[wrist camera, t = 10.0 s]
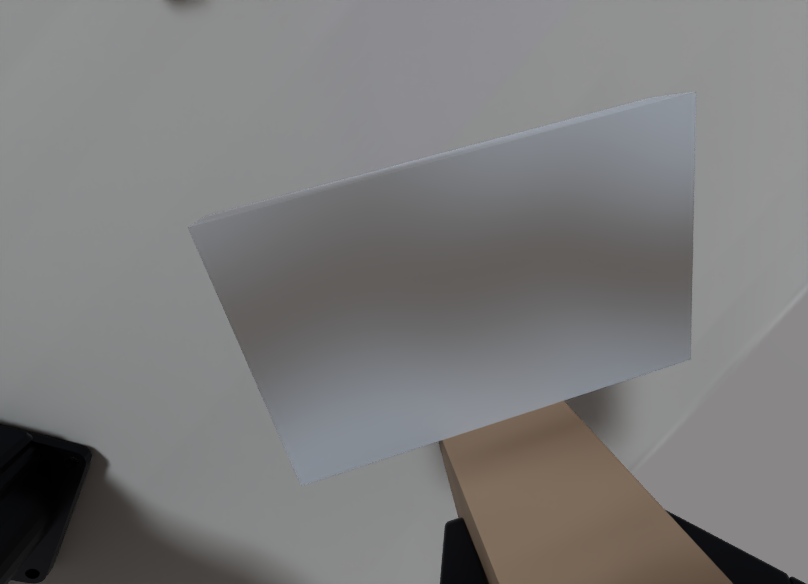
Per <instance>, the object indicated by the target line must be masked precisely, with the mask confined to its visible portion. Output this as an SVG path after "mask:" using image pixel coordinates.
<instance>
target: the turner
mask: <svg viewBox="0 0 808 584" xmlns="http://www.w3.org/2000/svg"><path fill="white" fill-rule="evenodd" d="M695 124H696V92H689V93H681V94H674V95H666V96H659V97H651V98H647V99H643V100H640V101H636V102H632V103H628V104H625V105H621V106H617V107H613V108H610V109H606V110H602V111H598V112H594V113H591V114H587V115H583V116H579V117H576V118H572V119H568V120H564V121H561V122H557V123H553V124H549V125H546V126H542V127H538V128H534V129H531V130H527V131H523V132H519V133H516V134H512V135H508V136H504V137H501V138H497V139H493V140H489V141H485V142H482V143H478V144H474V145H470V146H467V147H463V148H459V149H455V150H452V151H448V152H444V153H440V154H437V155H433V156H429V157H425V158H422V159H418V160H414V161H410V162H407V163H403V164H399V165H395V166H392V167H388V168H384V169H380V170H377V171H373V172H369V173H365V174H361V175H358V176H354V177H350V178H346V179H343V180H339V181H335V182H331V183H328V184H324V185H320V186H316V187H313V188H309V189H305V190H301V191H298V192H294V193H290V194H286V195H283V196H279V197H275V198H271V199H268V200H264V201H260V202H256V203H252V204H249V205H245V206H241V207H237V208H234V209H230V210H226V211H222V212H219V213H215V214H211V215H207V216H205V217H204V218H202V219H200V220H199V221H197V222H196V223H194V224H192V225H191V226H189V227H188V229H189V231H190V233H191V236H192V238H193V240H194V242H195V245H196V247H197V249H198V252H199V254H200V256H201V258H202V261H203V263H204V265H205V268H206V270H207V272H208V274H209V277H210V279H211V281H212V283H213V286H214V288H215V290H216V293H217V295H218V297H219V299H220V302H221V304H222V306H223V309H224V311H225V313H226V315H227V318H228V320H229V322H230V325H231V327H232V329H233V331H234V334H235V336H236V338H237V340H238V343H239V345H240V347H241V350H242V352H243V354H244V356H245V359H246V361H247V363H248V366H249V368H250V370H251V372H252V375H253V377H254V379H255V381H256V384H257V386H258V388H259V391H260V393H261V395H262V397H263V400H264V402H265V404H266V407H267V409H268V411H269V413H270V416H271V418H272V420H273V422H274V425H275V427H276V429H277V432H278V434H279V436H280V438H281V441H282V443H283V445H284V448H285V450H286V452H287V454H288V457H289V459H290V461H291V463H292V466H293V468H294V470H295V473H296V475H297V477H298V479H299V482H300V484H301V486H303V485H306V484H309V483H312V482H315V481H318V480H321V479H324V478H327V477H330V476H333V475H336V474H340V473H343V472H346V471H349V470H352V469H355V468H358V467H361V466H364V465H367V464H370V463H373V462H376V461H380V460H383V459H386V458H389V457H392V456H395V455H398V454H401V453H404V452H407V451H410V450H413V449H416V448H420V447H423V446H426V445H429V444H432V443H435V442H438V441H439V445H440V449H441V453H442V457H443V460H444V464H445V468H446V472H447V476H448V480H449V483H450V487H451V491H452V495H453V499H454V502H455V506H456V510H457V514H458V518H460V517H462V518H464V521H465V523H466V526H467V528H468V531H469V533H470V536H471V538H472V541H473V543H474V546H475V548H476V551H477V553H478V556H479V558H480V561H481V563H482V566H483V568H484V571H485V573H486V576H487V579H488V583H489V584H733V583H732V582H731V581H730V580H729V579H728V578H727V577H726V575H725V574H724V573H723V572H722V571H721V570H720V569H719V568H718V567H717V566H716V565H715V564H714V562H713V561H712V560H711V559H710V558H709V557H708V556H707V555H706V554H705V553H704V552H703V551H702V550H701V548H700V547H699V546H698V545H697V544H696V543H695V542H694V541H693V540H692V539H691V538H690V537H689V535H688V534H687V533H686V532H685V531H684V530H683V529H682V528H681V527H680V526H679V525H678V524H677V522H676V521H675V520H674V519H673V518H672V517H671V516H670V515H669V514H668V513H667V512H666V511H665V510H664V509H663V508H662V506H661V505H660V504H659V503H658V502H657V501H656V500H655V499H654V498H653V497H652V496H651V494H650V493H649V492H648V491H647V490H646V489H645V488H644V487H643V486H642V485H641V484H640V483H639V481H638V480H637V479H636V478H635V477H634V476H633V475H632V474H631V473H630V472H629V471H628V470H627V468H626V467H625V466H624V465H623V464H622V463H621V462H620V461H619V460H618V459H617V458H616V457H615V455H614V454H613V453H612V452H611V451H610V450H609V449H608V448H607V447H606V446H605V445H604V444H603V442H602V441H601V440H600V439H599V438H598V437H597V436H596V435H595V434H594V433H593V432H592V431H591V430H590V428H589V427H588V426H587V425H586V424H585V423H584V422H583V421H582V420H581V419H580V418H579V417H578V415H577V414H576V413H575V412H574V411H573V410H572V409H571V408H570V407H569V406H568V405H567V404H566V402H565V401H564V400H567V399H570V398H573V397H576V396H580V395H583V394H586V393H589V392H592V391H595V390H598V389H601V388H604V387H607V386H610V385H613V384H616V383H620V382H623V381H626V380H629V379H632V378H635V377H638V376H641V375H644V374H647V373H650V372H653V371H656V370H660V369H663V368H666V367H669V366H672V365H675V364H678V363H681V362H684V361H687V360H690V359H691V315H692V267H693V220H694V172H695Z"/></svg>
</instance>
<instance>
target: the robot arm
mask: <svg viewBox="0 0 808 584" xmlns="http://www.w3.org/2000/svg"><path fill="white" fill-rule="evenodd" d="M70 457H74V458H76V459H77V460H78V461H79V462H78V461H74V460H72V459H71V458H70ZM91 459H92V455H91V452H90V451H89V450H88V449H87V448H86V447H84V446H82V445H78V444H74V443H70V442H66V441H63V440H59V439H55V438H51V437H47V436H43V435H40V434H36V433H32V432H28V431H24V430H20V429H16V428H13V427H9V426H5V425H1V424H0V584H8V582H9V581H10V580H14V581H20V582H25V583H39V582H41V581H43V580H44V579H45V578H46V576H47V575H48V573H49V572H50V570H51V569H52V568H53V565H54V562H55V559H56V557H57V554H58V551H59V548H60V545H61V543H62V540H63V537H64V534H65V532H66V529H67V526H68V523H69V520H70V518H71V515H72V512H73V509H74V507H75V504H76V501H77V498H78V495H79V493H80V490H81V487H82V484H83V481H84V479H85V476H86V473H87V470H88V468H89V465H90V462H91ZM665 511H666V510H665ZM666 512H667V513H668V514H669V515H670V516H671V517H672V518H673V519H674V520H675V521H676V522H677V524H678V525H679V526H680V527H681V528H682V529H683V530H684V531H685V532H686V533H687V534H688V535H689V537H690V538H691V539H692V540H693V541H694V542H695V543H696V544H697V545H698V546H699V547H700V548H701V550H702V551H703V552H704V553H705V554H706V555H707V556H708V557H709V558H710V559H711V560H712V561H713V562H714V564H715V565H716V566H717V567H718V568H719V569H720V570H721V571H722V572H723V573H724V574H725V575H726V577H727V578H728V579H729V580H730V581H731V582H732V583H733V584H805V583H804V582H802V581H800V580H798V579H796V578H794V577H790V578H789V577H788V575H787V574H786V573H784V572H783V571H780V570H778V569H777V568H775V567H773V566H771V565H769V564H767V563H765V562H764V561H762V560H760V559H758V558H756V557H754V556H752V555H750V554H748V553H746V552H744V551H743V550H741V549H738V548H737V547H735V546H733V545H731V544H729V543H727V542H725V541H723V540H722V539H719V538H718V537H716V536H714V535H712V534H710V533H708V532H706V531H705V530H703V529H701V528H699V527H697V526H695V525H693V524H691V523H689V522H687V521H686V520H684V519H682V518H680V517H678V516H676V515H674V514H672V513H670V512H668V511H666ZM440 584H489V583H488V579H487V576H486V573H485V571H484V568H483V566H482V563H481V561H480V558H479V556H478V553H477V551H476V548H475V546H474V543H473V541H472V538H471V536H470V533H469V531H468V528H467V526H466V523H465V521H464V518H462V517H460V518H457V519H454V520H451V521H448V522H447V523H446V525H445V531H444V542H443V554H442V565H441V577H440Z"/></svg>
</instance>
